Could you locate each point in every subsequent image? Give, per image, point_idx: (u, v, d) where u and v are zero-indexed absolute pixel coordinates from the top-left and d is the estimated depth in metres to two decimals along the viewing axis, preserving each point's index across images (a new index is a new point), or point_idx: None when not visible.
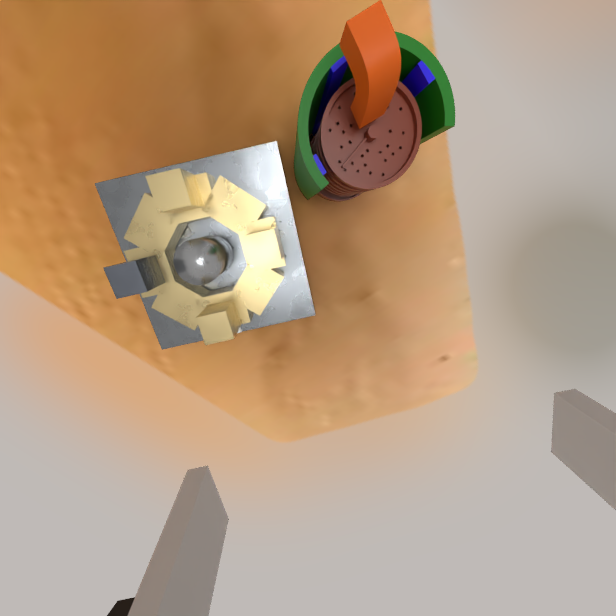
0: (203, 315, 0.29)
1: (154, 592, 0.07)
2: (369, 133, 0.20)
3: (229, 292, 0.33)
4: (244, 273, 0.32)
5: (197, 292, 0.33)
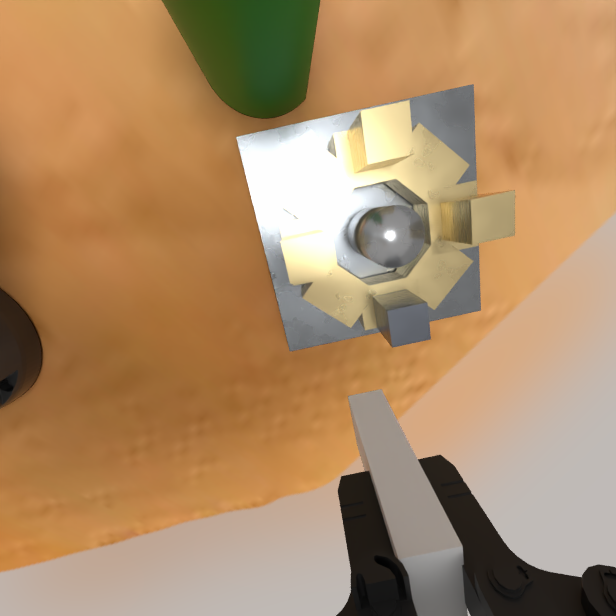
0: (470, 234, 0.21)
1: (383, 462, 0.09)
2: None
3: (429, 207, 0.24)
4: (406, 183, 0.23)
5: (422, 252, 0.25)
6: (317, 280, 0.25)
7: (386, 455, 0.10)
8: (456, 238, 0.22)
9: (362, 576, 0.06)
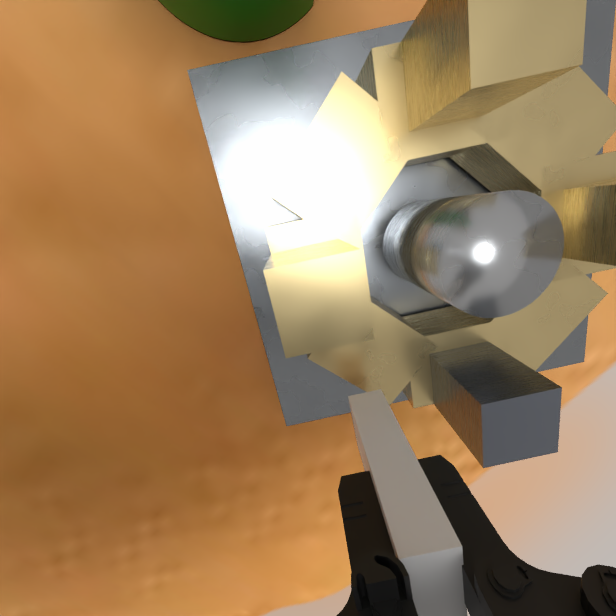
0: None
1: (384, 461, 0.09)
2: None
3: None
4: (506, 152, 0.12)
5: None
6: None
7: (386, 455, 0.10)
8: (608, 257, 0.12)
9: (362, 576, 0.06)
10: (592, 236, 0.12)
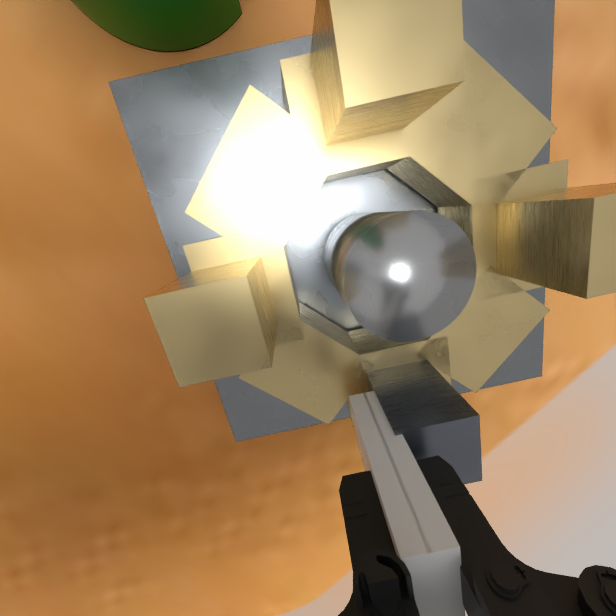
0: (580, 274, 0.09)
1: (385, 461, 0.09)
2: None
3: (474, 213, 0.12)
4: (431, 166, 0.12)
5: None
6: None
7: (384, 455, 0.10)
8: (534, 276, 0.11)
9: (364, 575, 0.06)
10: (520, 253, 0.11)
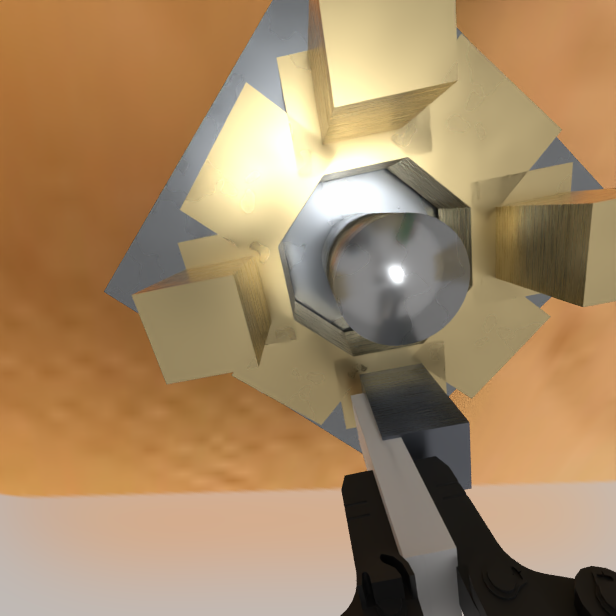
0: (577, 282, 0.09)
1: (387, 461, 0.09)
2: None
3: (473, 216, 0.12)
4: (429, 167, 0.11)
5: None
6: None
7: (381, 456, 0.10)
8: (532, 282, 0.11)
9: (368, 574, 0.06)
10: (519, 258, 0.11)
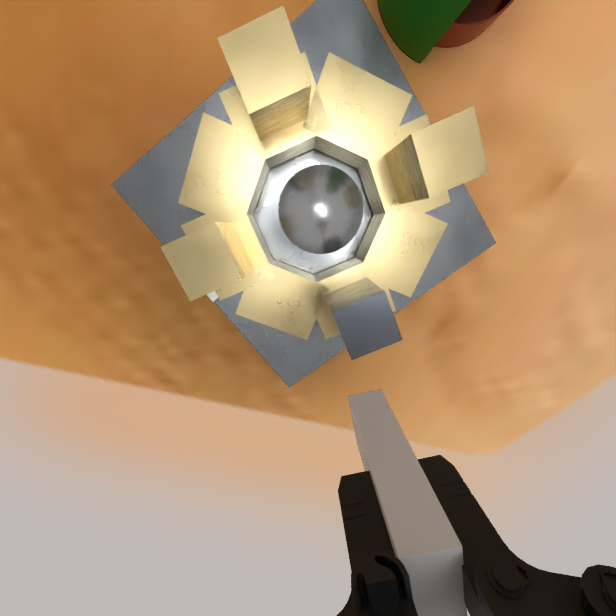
0: (423, 184, 0.14)
1: (384, 461, 0.09)
2: None
3: (371, 164, 0.18)
4: (332, 139, 0.17)
5: (377, 225, 0.19)
6: (248, 288, 0.19)
7: (386, 455, 0.10)
8: (411, 196, 0.16)
9: (362, 576, 0.06)
10: (402, 183, 0.17)
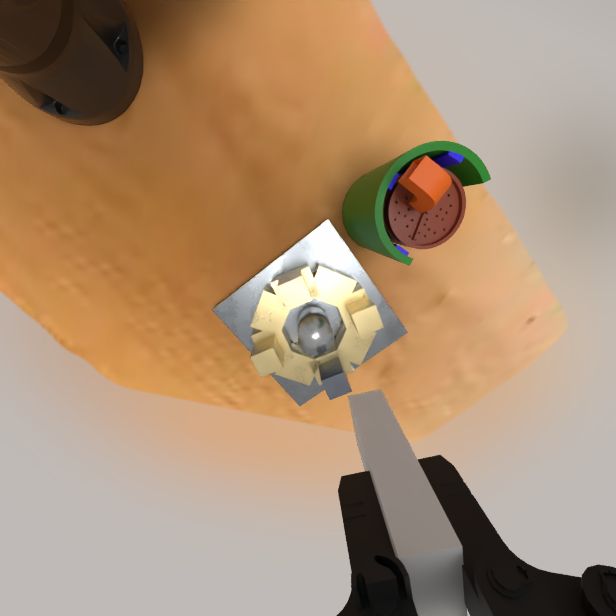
0: (357, 331, 0.35)
1: (384, 461, 0.09)
2: (427, 211, 0.26)
3: (339, 309, 0.38)
4: (321, 299, 0.38)
5: (343, 332, 0.40)
6: None
7: (386, 455, 0.10)
8: (355, 328, 0.37)
9: (362, 576, 0.06)
10: (352, 321, 0.37)
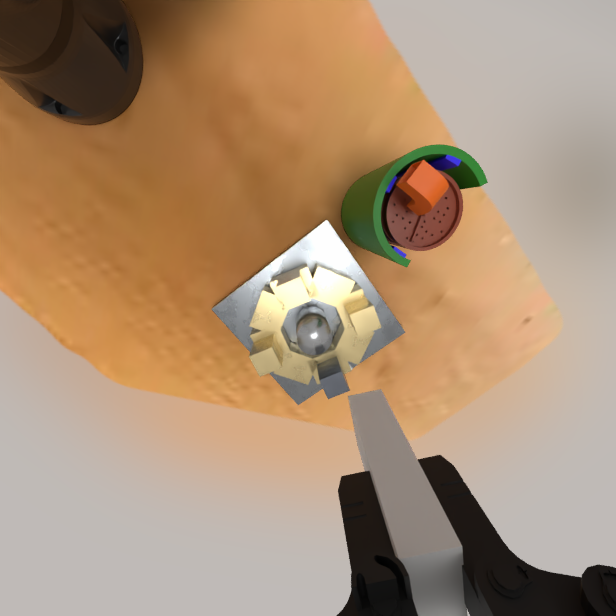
0: (355, 331, 0.36)
1: (384, 461, 0.09)
2: (425, 214, 0.26)
3: (337, 309, 0.39)
4: (320, 299, 0.38)
5: (341, 332, 0.40)
6: None
7: (386, 455, 0.10)
8: (354, 328, 0.37)
9: (363, 576, 0.06)
10: (350, 321, 0.38)
